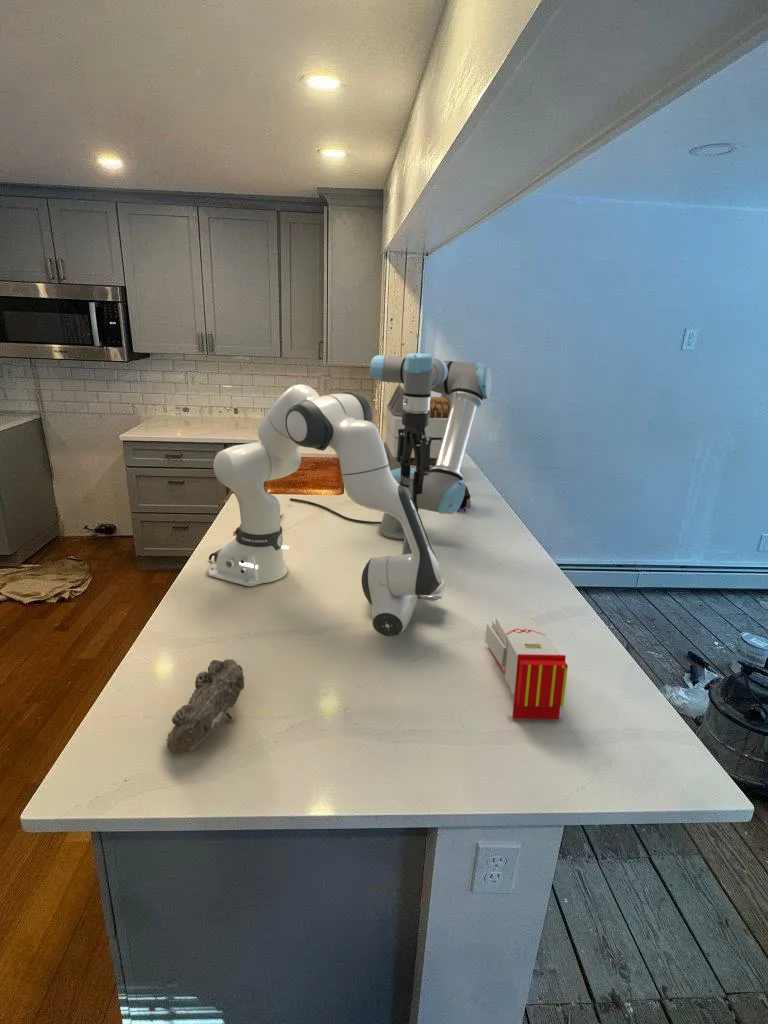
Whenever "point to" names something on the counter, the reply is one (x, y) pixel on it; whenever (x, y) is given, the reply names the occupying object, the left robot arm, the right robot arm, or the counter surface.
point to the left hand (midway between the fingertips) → (410, 571)
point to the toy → (529, 667)
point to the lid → (407, 479)
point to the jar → (406, 547)
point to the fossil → (206, 705)
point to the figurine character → (465, 500)
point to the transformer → (433, 430)
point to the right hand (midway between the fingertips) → (410, 490)
